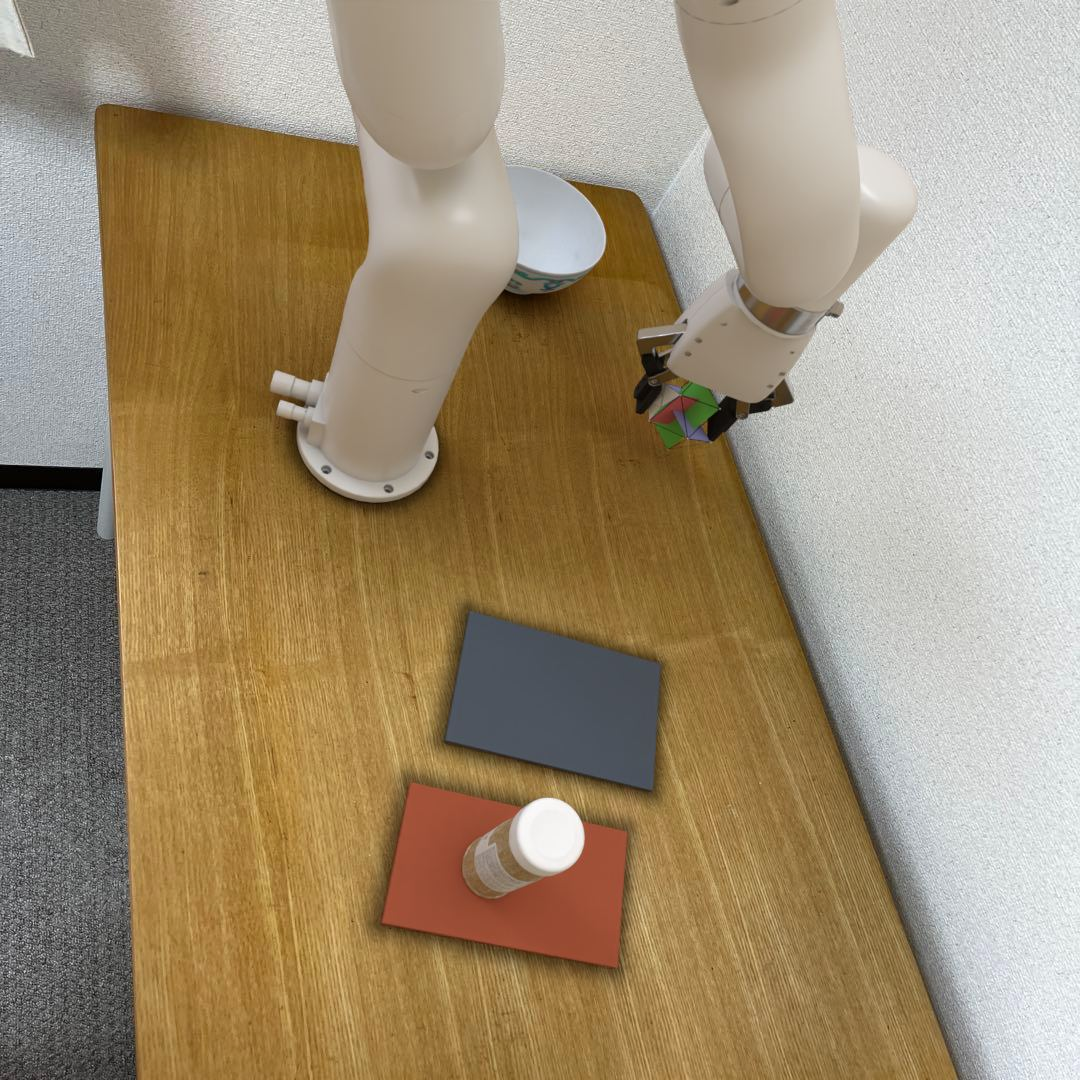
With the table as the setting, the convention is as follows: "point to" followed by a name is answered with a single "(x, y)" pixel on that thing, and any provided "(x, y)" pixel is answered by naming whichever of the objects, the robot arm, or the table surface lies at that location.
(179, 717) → the table surface
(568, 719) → the back mat
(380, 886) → the table surface
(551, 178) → the chinaware
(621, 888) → the front mat
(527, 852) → the sprinkles bottle
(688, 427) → the geometric puzzle
